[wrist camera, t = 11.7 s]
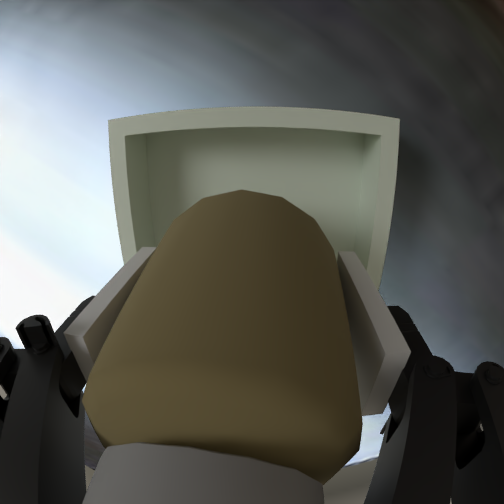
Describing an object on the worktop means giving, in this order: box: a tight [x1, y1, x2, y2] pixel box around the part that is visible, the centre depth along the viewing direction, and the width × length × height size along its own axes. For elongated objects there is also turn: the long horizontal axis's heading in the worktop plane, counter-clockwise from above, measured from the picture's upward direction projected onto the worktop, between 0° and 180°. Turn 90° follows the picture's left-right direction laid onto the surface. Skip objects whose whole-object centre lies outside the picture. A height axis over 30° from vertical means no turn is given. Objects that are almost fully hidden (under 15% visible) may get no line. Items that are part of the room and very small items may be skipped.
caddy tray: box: [108, 107, 400, 290], centre depth 17 cm, size 15×15×4 cm
